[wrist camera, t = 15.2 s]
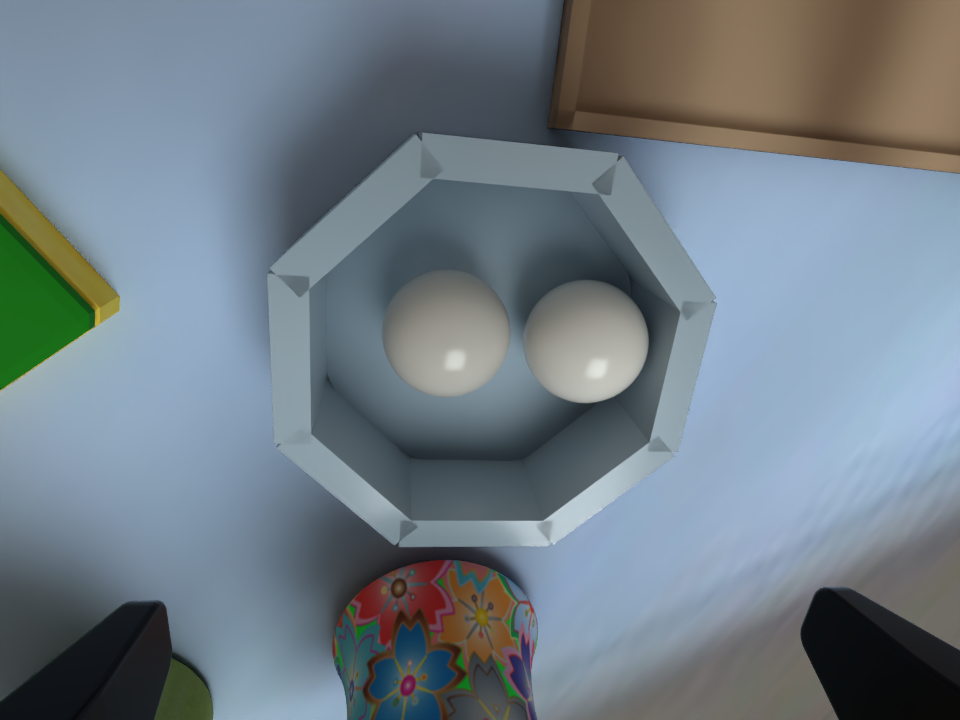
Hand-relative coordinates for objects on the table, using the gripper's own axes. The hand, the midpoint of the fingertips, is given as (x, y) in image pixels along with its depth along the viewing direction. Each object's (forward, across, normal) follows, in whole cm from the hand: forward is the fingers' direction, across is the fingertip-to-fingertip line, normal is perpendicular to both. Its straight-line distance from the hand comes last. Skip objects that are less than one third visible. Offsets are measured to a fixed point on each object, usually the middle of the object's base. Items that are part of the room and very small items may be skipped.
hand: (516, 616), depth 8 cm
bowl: (+12, -1, 0) cm, 13 cm away
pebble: (+10, -2, 0) cm, 11 cm away
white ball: (+11, -2, 0) cm, 11 cm away
